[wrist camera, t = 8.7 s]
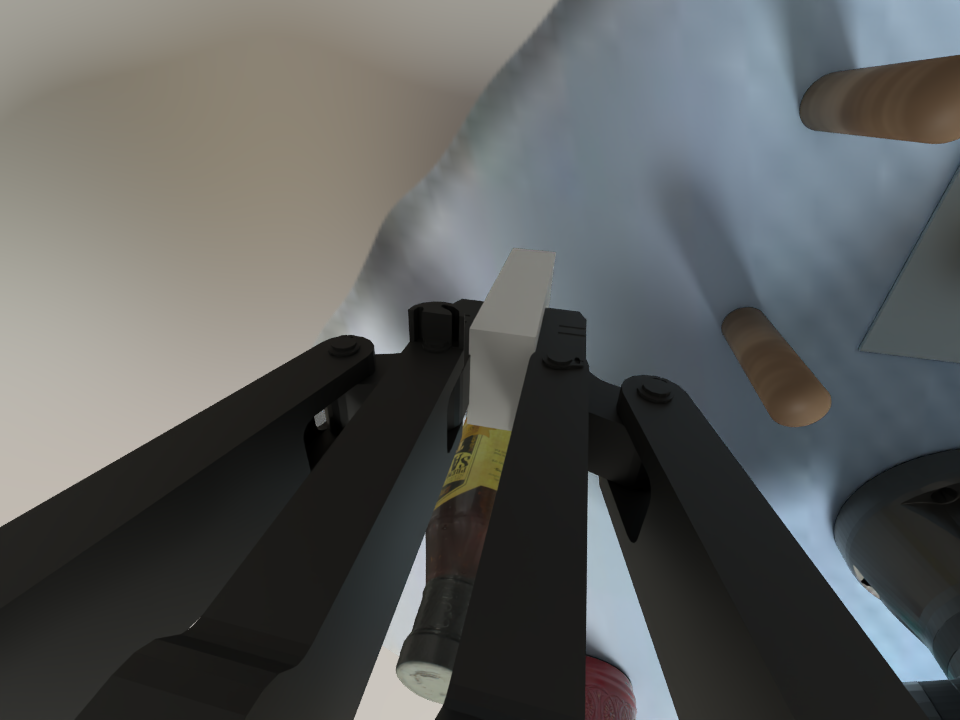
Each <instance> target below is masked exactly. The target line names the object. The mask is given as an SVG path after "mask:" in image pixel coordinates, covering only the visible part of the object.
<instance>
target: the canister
mask: <svg viewBox="0 0 960 720" xmlns="http://www.w3.org/2000/svg"><path fill="white" fill-rule="evenodd" d="M636 713H637V709H636V699H635V696H634V693H633V688H632V684H631V682H630V681H629V679H628V678H627V677H626V676H625V675H624V674H623V673H622V672H621V671H620V670H618V669H617V668H615V667H614V666H612V665H610V664H608V663H606V662H604V661H602V660H599V659H596V658H593V657H589V656H586V683H585V720H636Z"/></svg>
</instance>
